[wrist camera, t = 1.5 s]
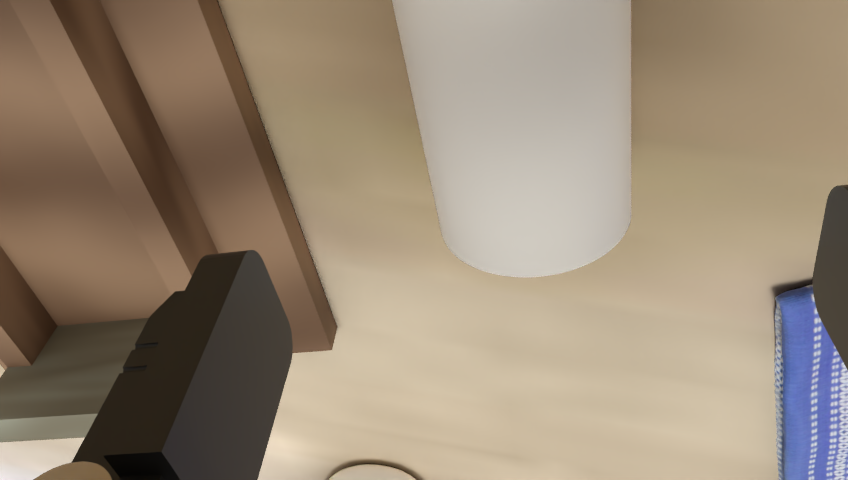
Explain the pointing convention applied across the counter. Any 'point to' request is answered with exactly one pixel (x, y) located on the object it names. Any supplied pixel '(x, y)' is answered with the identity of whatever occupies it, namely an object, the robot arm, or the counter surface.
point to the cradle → (125, 194)
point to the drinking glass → (371, 473)
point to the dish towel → (808, 393)
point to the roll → (524, 127)
